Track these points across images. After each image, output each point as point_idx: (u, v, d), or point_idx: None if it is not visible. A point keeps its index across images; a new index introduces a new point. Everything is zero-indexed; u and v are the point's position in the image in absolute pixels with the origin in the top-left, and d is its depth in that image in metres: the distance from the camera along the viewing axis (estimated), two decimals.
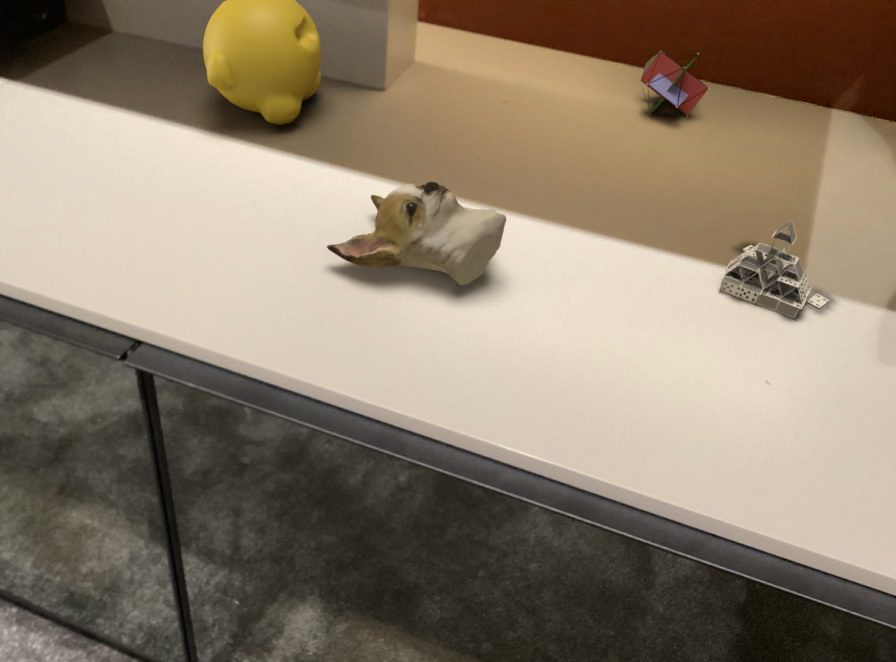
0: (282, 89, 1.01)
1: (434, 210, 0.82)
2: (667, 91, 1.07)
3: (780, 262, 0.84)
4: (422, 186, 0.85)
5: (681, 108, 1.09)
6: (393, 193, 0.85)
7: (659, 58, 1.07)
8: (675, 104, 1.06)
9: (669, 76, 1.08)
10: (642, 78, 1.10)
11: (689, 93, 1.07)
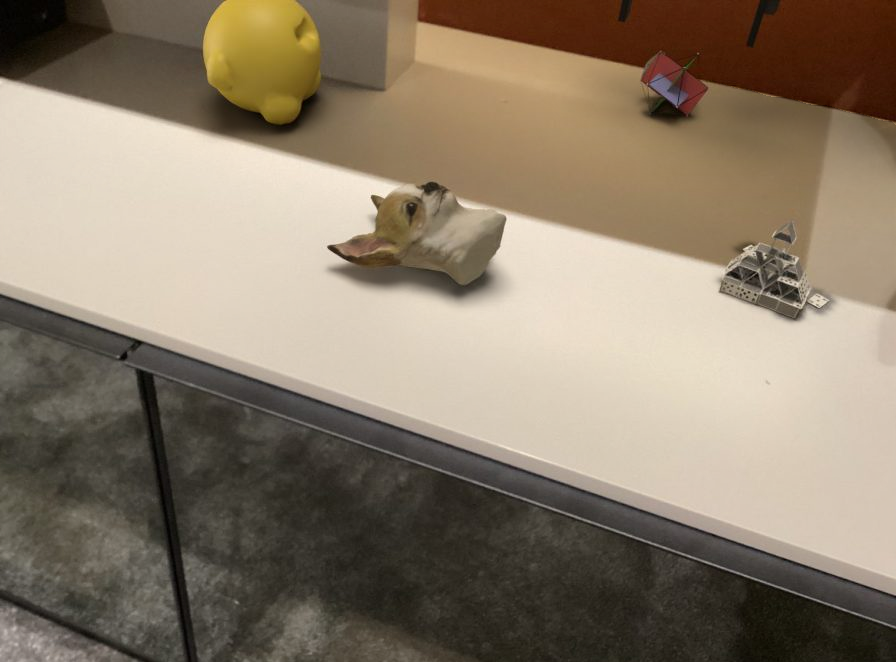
0: (282, 89, 1.01)
1: (434, 210, 0.82)
2: (667, 91, 1.07)
3: (780, 262, 0.84)
4: (422, 186, 0.85)
5: (681, 108, 1.09)
6: (393, 193, 0.85)
7: (659, 58, 1.07)
8: (675, 104, 1.06)
9: (669, 76, 1.08)
10: (642, 78, 1.10)
11: (689, 93, 1.07)
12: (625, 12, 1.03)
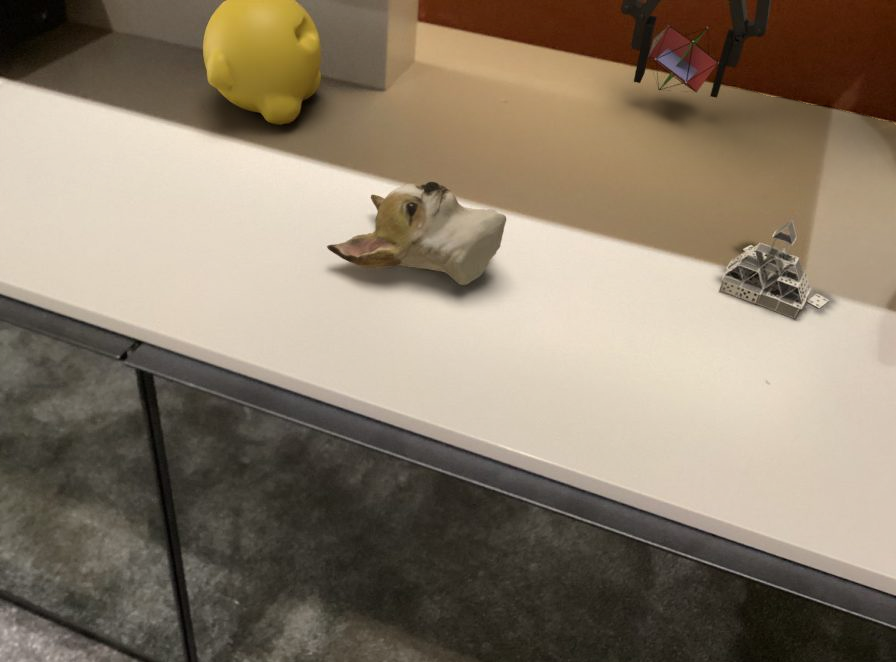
0: (282, 89, 1.01)
1: (434, 210, 0.82)
2: (676, 66, 1.04)
3: (780, 262, 0.84)
4: (422, 186, 0.85)
5: (690, 84, 1.07)
6: (393, 193, 0.85)
7: (667, 33, 1.05)
8: (684, 79, 1.03)
9: (678, 51, 1.05)
10: (650, 54, 1.07)
11: (698, 68, 1.05)
12: (640, 73, 1.07)
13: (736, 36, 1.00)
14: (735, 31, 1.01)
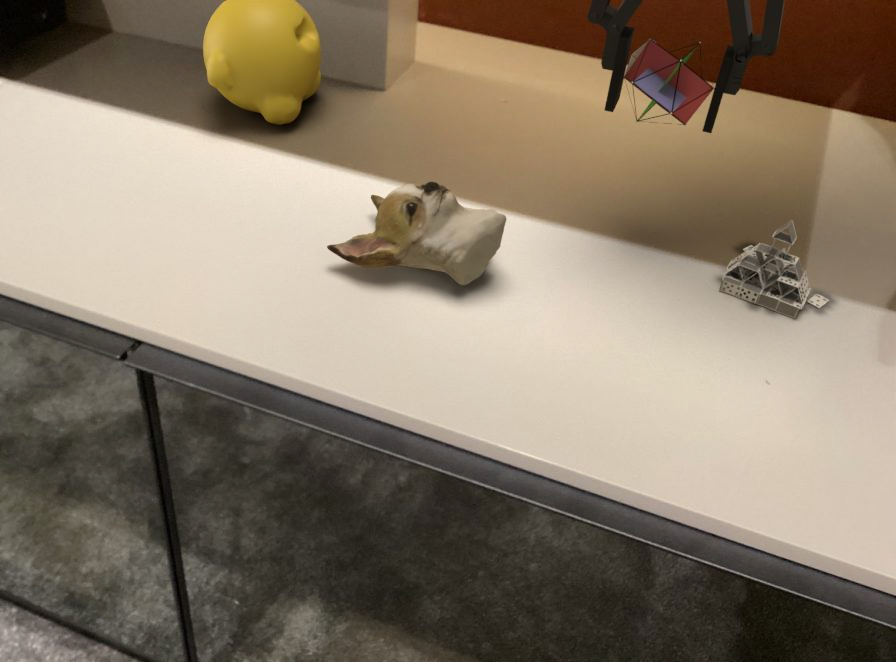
0: (282, 89, 1.01)
1: (434, 210, 0.82)
2: (659, 92, 0.80)
3: (780, 262, 0.84)
4: (422, 186, 0.85)
5: (677, 114, 0.83)
6: (393, 193, 0.85)
7: (648, 48, 0.81)
8: (669, 109, 0.79)
9: (661, 72, 0.81)
10: (626, 75, 0.83)
11: (688, 95, 0.81)
12: (613, 100, 0.83)
13: (737, 55, 0.76)
14: (736, 48, 0.76)
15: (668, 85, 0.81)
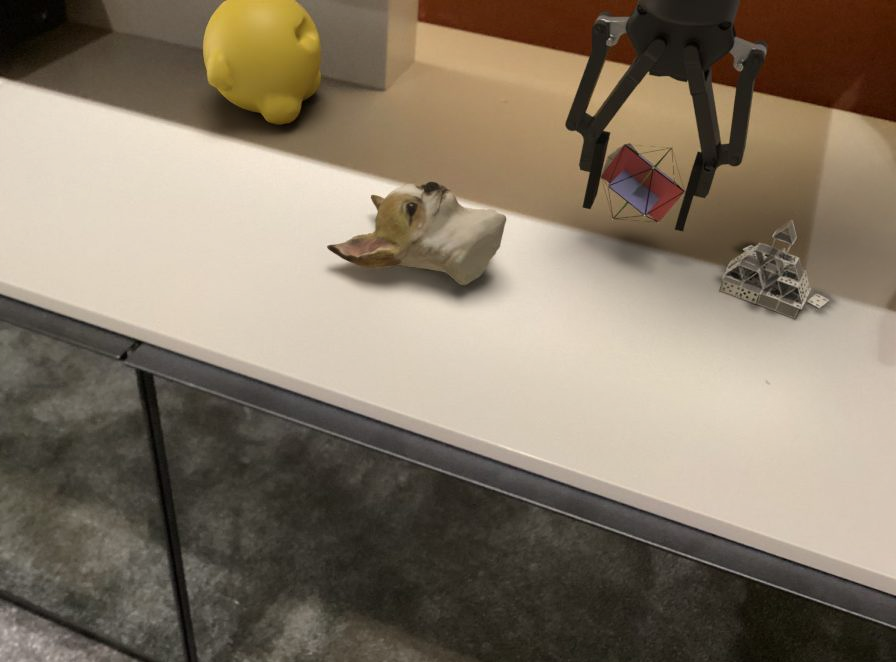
0: (282, 89, 1.01)
1: (434, 210, 0.82)
2: (633, 194, 0.85)
3: (780, 262, 0.84)
4: (422, 186, 0.85)
5: (651, 213, 0.87)
6: (393, 193, 0.85)
7: (623, 152, 0.85)
8: (642, 212, 0.84)
9: (636, 174, 0.86)
10: (603, 174, 0.88)
11: (661, 196, 0.86)
12: (591, 199, 0.88)
13: (706, 164, 0.81)
14: (704, 158, 0.81)
15: (642, 186, 0.86)
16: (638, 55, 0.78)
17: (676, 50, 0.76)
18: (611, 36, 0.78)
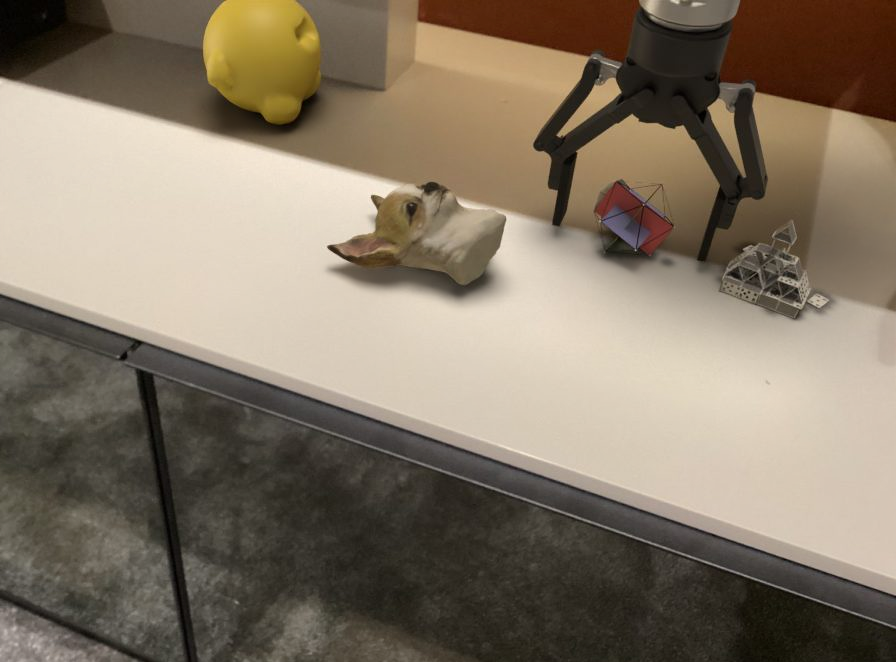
0: (282, 89, 1.01)
1: (434, 210, 0.82)
2: (624, 229, 0.88)
3: (780, 262, 0.84)
4: (422, 186, 0.85)
5: (642, 246, 0.90)
6: (393, 193, 0.85)
7: (615, 188, 0.88)
8: (634, 246, 0.87)
9: (627, 209, 0.89)
10: (595, 209, 0.91)
11: (651, 230, 0.88)
12: (559, 216, 0.90)
13: (729, 198, 0.82)
14: (727, 193, 0.83)
15: (633, 221, 0.89)
16: (624, 97, 0.81)
17: (664, 99, 0.79)
18: (600, 77, 0.80)
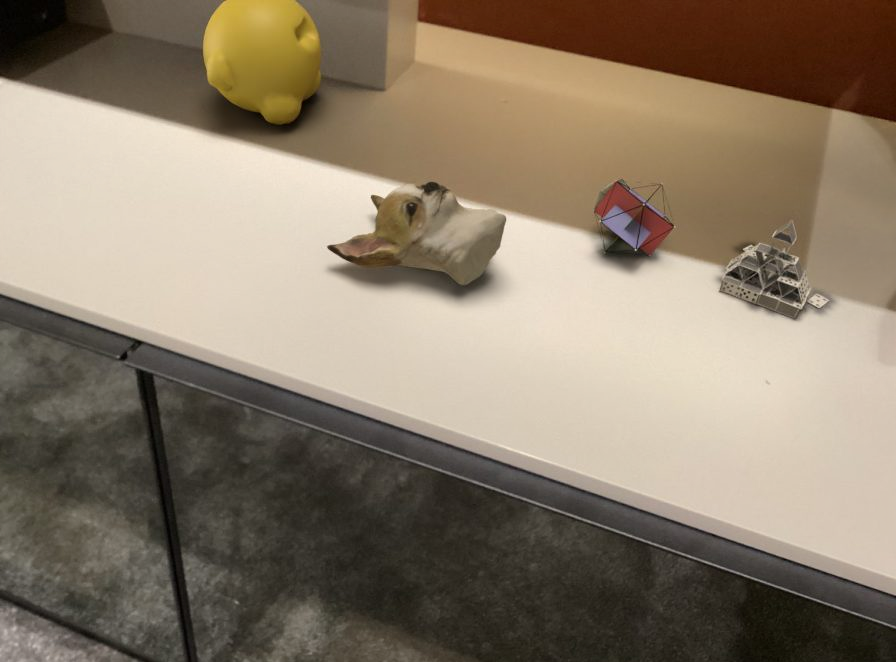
0: (282, 89, 1.01)
1: (434, 210, 0.82)
2: (624, 229, 0.88)
3: (780, 262, 0.84)
4: (422, 186, 0.85)
5: (642, 246, 0.90)
6: (393, 193, 0.85)
7: (615, 188, 0.88)
8: (634, 246, 0.87)
9: (627, 209, 0.89)
10: (595, 209, 0.91)
11: (651, 230, 0.88)
12: None
13: None
14: None
15: (633, 221, 0.89)
16: None
17: None
18: None
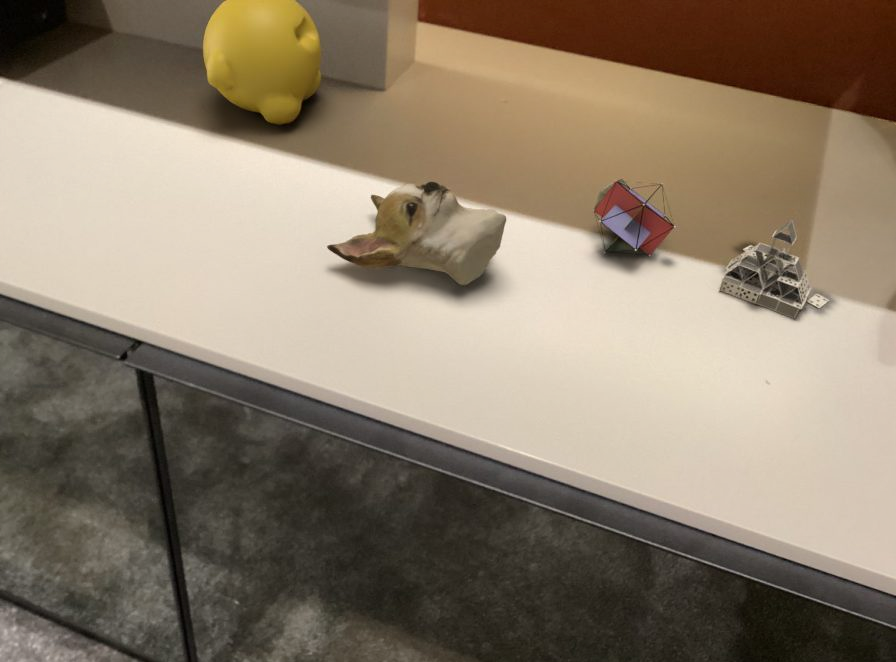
0: (282, 89, 1.01)
1: (434, 210, 0.82)
2: (624, 229, 0.88)
3: (780, 262, 0.84)
4: (422, 186, 0.85)
5: (642, 246, 0.90)
6: (393, 193, 0.85)
7: (615, 188, 0.88)
8: (634, 246, 0.87)
9: (627, 209, 0.89)
10: (595, 209, 0.91)
11: (651, 230, 0.88)
12: None
13: None
14: None
15: (633, 221, 0.89)
16: None
17: None
18: None
